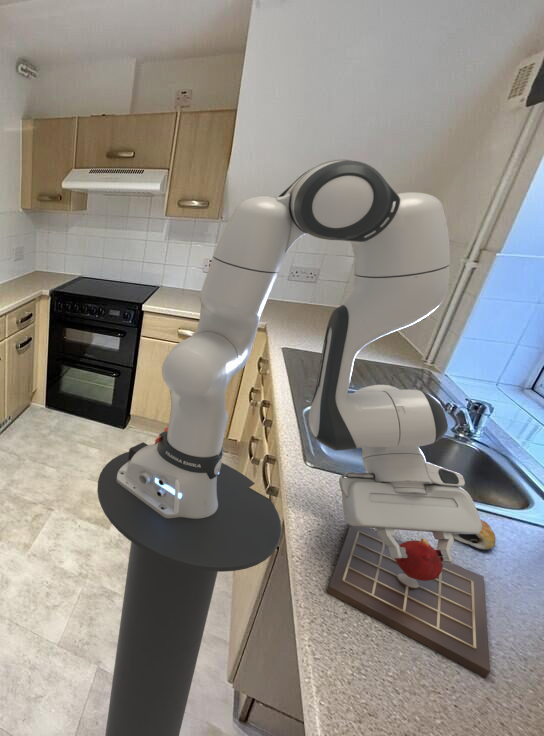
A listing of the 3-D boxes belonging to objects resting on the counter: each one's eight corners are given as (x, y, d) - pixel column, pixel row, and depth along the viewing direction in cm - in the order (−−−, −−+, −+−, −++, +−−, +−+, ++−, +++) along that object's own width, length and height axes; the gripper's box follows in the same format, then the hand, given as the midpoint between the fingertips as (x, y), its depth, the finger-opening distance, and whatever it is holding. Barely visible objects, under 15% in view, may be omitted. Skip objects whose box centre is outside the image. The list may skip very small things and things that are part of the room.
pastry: (450, 515, 89) (457, 500, 87) (496, 534, 84) (504, 519, 82) (442, 535, 83) (449, 520, 82) (490, 557, 78) (499, 541, 77)
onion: (437, 581, 70) (455, 544, 67) (427, 598, 67) (445, 560, 64) (395, 557, 75) (410, 522, 72) (383, 572, 71) (398, 536, 69)
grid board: (327, 592, 70) (329, 585, 70) (349, 525, 85) (352, 519, 85) (485, 678, 58) (490, 670, 57) (480, 582, 73) (484, 575, 72)
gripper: (348, 468, 72) (369, 555, 66) (473, 476, 71) (505, 566, 65) (326, 473, 78) (344, 554, 72) (441, 480, 77) (469, 564, 71)
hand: (422, 560), depth 69 cm, fingers closed on onion, 5 cm apart
